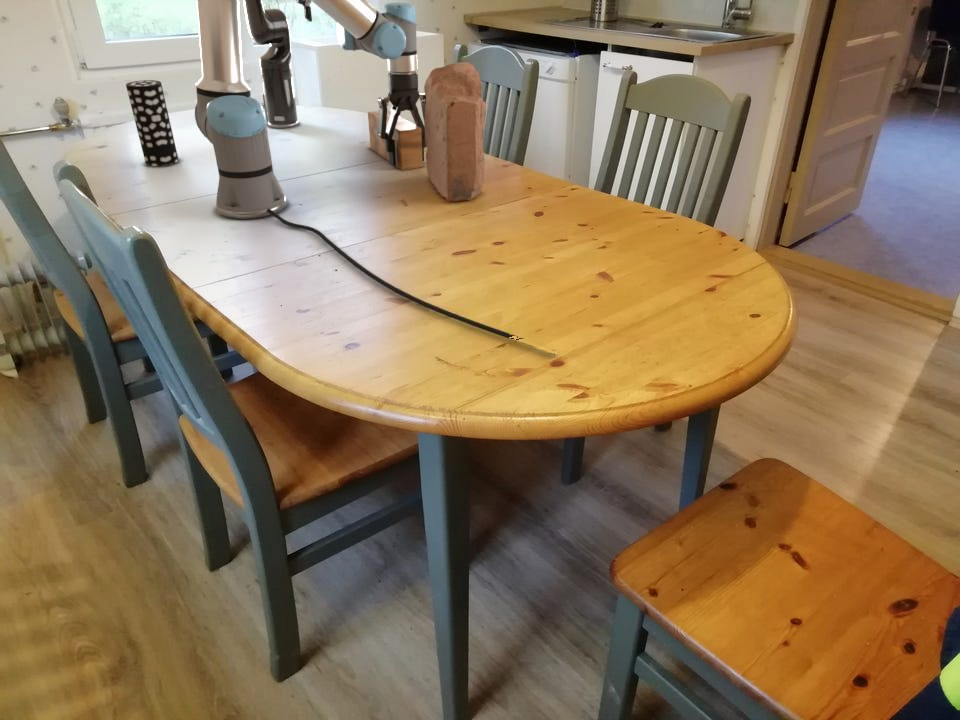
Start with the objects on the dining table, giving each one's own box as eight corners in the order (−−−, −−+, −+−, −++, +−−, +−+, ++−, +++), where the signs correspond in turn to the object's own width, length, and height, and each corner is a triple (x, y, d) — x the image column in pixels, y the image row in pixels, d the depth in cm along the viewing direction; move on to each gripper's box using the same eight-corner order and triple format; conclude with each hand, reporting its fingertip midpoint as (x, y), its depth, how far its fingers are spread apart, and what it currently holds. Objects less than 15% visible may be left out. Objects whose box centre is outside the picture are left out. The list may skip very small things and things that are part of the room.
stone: (494, 199, 163) (495, 72, 149) (448, 204, 160) (444, 75, 146) (466, 175, 181) (465, 60, 167) (425, 179, 178) (420, 62, 164)
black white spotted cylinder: (184, 157, 190) (167, 80, 179) (169, 166, 183) (151, 87, 172) (155, 156, 190) (136, 79, 179) (139, 165, 183) (119, 86, 172)
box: (422, 166, 186) (421, 128, 180) (402, 170, 183) (400, 130, 178) (389, 145, 202) (387, 109, 197) (370, 148, 200) (367, 111, 194)
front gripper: (432, 66, 181) (435, 153, 193) (359, 72, 173) (366, 163, 185) (445, 71, 176) (447, 160, 188) (370, 77, 167) (376, 171, 179)
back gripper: (339, -48, 188) (344, 17, 197) (287, -48, 182) (295, 20, 191) (348, -47, 183) (353, 20, 192) (295, -47, 177) (303, 23, 186)
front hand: (407, 161), depth 186 cm, fingers open, 8 cm apart
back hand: (324, 20), depth 191 cm, fingers open, 8 cm apart
